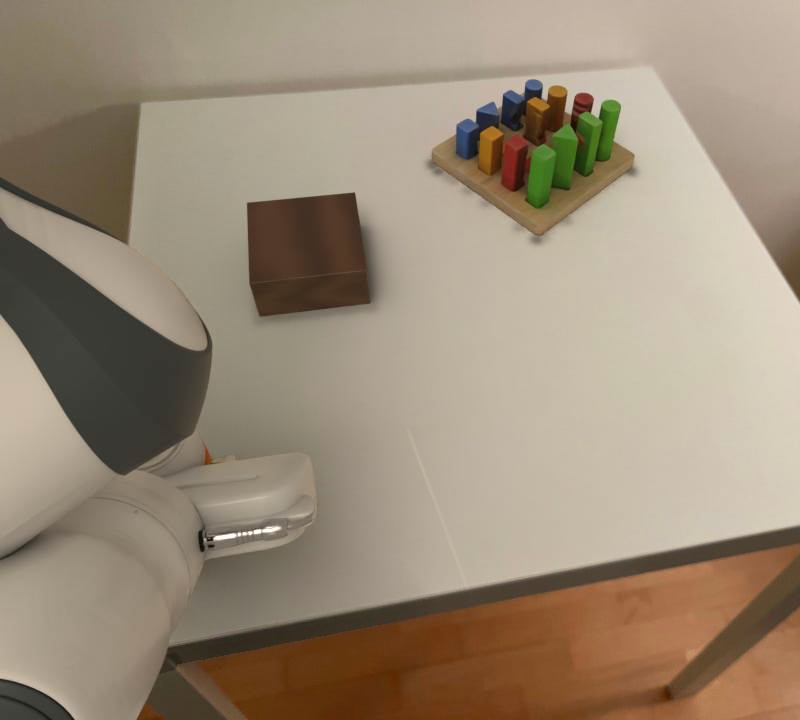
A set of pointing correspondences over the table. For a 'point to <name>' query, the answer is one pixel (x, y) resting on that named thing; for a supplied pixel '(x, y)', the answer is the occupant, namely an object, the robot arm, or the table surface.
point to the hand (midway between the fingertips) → (171, 474)
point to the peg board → (537, 154)
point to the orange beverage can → (179, 457)
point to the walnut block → (306, 254)
